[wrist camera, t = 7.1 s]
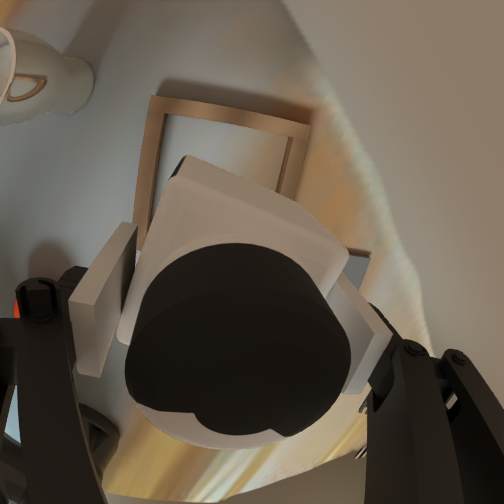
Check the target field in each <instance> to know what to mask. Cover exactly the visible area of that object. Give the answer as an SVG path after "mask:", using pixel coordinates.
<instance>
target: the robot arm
mask: <svg viewBox="0 0 504 504" xmlns="http://www.w3.org/2000/svg"><path fill="white" fill-rule="evenodd" d="M137 233H138V224H135V223H128V222H122V223H121V224H120V225H119V227H118V228H117V229H116V231H115V232H114V233H113V235H112V236H111V237H110V239H109V240H108V242H107V243H106V244H105V246H104V247H103V249H102V250H101V251H100V253H99V254H98V256H97V257H96V259H95V260H94V262H93V263H92V264H91V266H90V267H89V268H86V267H80V266H74V267H72V268H70V269H69V270H67V271H65V273H64V274H63V275H62V277H61V278H60V280H59V281H58V282H57V283H56V282H55V281H54V280H51V279H48V278H39V277H38V278H31V279H28V280H26V281H23V282H22V283H21V284H19V285H18V286H17V288H16V290H15V292H16V298H17V304H18V309H19V314H20V318H0V504H108V502H107V499H106V497H105V494H104V491H103V489H102V479H103V473H104V470H105V469H106V467H107V466H108V464H109V462H110V461H111V459H112V457H113V456H114V454H115V453H116V451H117V448H118V443H119V433H118V431H117V429H116V428H115V426H114V425H113V424H112V423H111V422H110V421H109V420H108V419H106V418H105V417H104V416H102V415H101V414H99V413H98V412H96V411H94V410H92V409H90V408H88V407H86V406H83V405H81V404H78V400H77V395H76V390H75V385H74V380H73V375H72V369H73V367H74V364H75V362H76V365H77V371H78V373H79V374H83V375H88V376H93V377H98V378H100V377H101V374H102V371H103V367H104V364H105V361H106V358H107V355H108V351H109V348H110V345H111V342H112V339H113V336H114V333H115V330H116V327H117V324H118V322H119V319H120V316H121V313H122V310H123V307H124V303H125V300H126V297H127V294H128V290H129V287H130V284H131V281H132V278H133V274H134V271H135V259H136V245H137ZM325 300H326V301H327V303H328V305H329V306H330V308H331V309H332V311H333V313H334V314H335V316H336V317H337V319H338V321H339V322H340V324H341V325H342V327H343V329H344V330H345V332H346V335H347V337H348V340H349V343H350V348H351V365H350V370H349V374H348V377H347V379H346V382H345V384H344V387H343V389H342V393H343V394H358V393H361V392H362V390H363V389H364V387H365V385H366V384H367V382H369V384H370V386H371V388H372V389H371V391H370V392H369V394H368V396H367V397H366V399H365V400H364V402H363V404H362V405H361V407H360V408H359V413H361V412H362V411H363V409H364V408H365V407H367V411H366V412H365V414H367V463H366V484H365V499H364V504H504V409H503V408H502V406H501V404H500V403H499V401H498V400H497V398H496V397H495V395H494V394H493V392H492V391H491V389H490V388H489V386H488V385H487V384H486V382H485V381H484V379H483V377H482V376H481V375H480V373H479V372H478V370H477V369H476V368H475V366H474V365H473V363H472V362H471V360H470V359H469V358H468V357H467V356H466V355H464V354H463V352H461V351H459V350H454V349H447V350H446V351H445V352H444V354H443V356H442V358H441V359H438V358H433V357H430V356H429V353H428V352H427V350H426V349H425V348H424V347H423V346H422V345H420V344H419V343H417V342H415V341H412V340H408V339H402V338H401V336H400V335H399V334H398V333H397V331H396V330H395V329H394V328H393V326H392V325H391V324H389V321H388V320H387V319H386V318H384V315H383V314H382V313H381V312H380V310H379V309H378V308H376V307H375V306H373V305H372V304H371V303H369V302H367V301H366V300H365V298H364V297H363V296H362V295H361V293H360V292H359V291H358V290H357V289H356V287H355V286H354V285H353V284H352V282H351V281H350V280H349V279H348V278H347V276H346V275H345V274H344V273H343V272H341V273H340V275H339V277H338V278H337V280H336V282H335V283H334V285H333V287H332V288H331V290H330V292H329V293H328V295H327V296H326V298H325ZM15 385H17V398H18V417H19V430H20V440H21V443H19V442H18V441H16V440H15V439H13V438H12V437H11V436H9V435H8V434H6V433H5V432H4V431H5V427H6V422H7V417H8V413H9V409H10V404H11V400H12V396H13V393H14V389H15ZM454 393H455V395H456V396H457V398H458V399H457V401H456V402H455V403H454V405H453V406H452V407H451V408H450V409H448V408H447V407H446V404H447V403H448V401H449V400H450V399H451V397H452V396H453V395H454Z"/></svg>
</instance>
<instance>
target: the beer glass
mask: <svg viewBox="0 0 504 504" xmlns="http://www.w3.org/2000/svg"><path fill="white" fill-rule="evenodd" d="M93 86H94V75H93V71H92V69H91V67H90V66H89V64H88V63H87V62H85V61H84V60H82V59H79V58H65V57H64V56H63V55H62V54H61V53H60V52H59V51H58V50H57V49H56V48H54V47H53V46H52V45H51V44H49V43H48V42H47V41H45V40H44V39H42V38H40V37H37V36H35V35H33V34H30V33H27V32H23V31H19V30H14V29H8V28H3V27H0V126H6V125H12V124H17V123H21V122H24V121H27V120H30V119H33V118H35V117H37V116H40V115H42V114H44V113H47V112H52V113H54V114H57V115H69V114H72V113H74V112H76V111H78V110H79V109H80V108H82V107H83V106H84V105H85V103H86V102H87V101H88V99H89V97H90V96H91V93H92V90H93Z"/></svg>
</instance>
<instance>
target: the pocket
mask: <svg viewBox="0 0 504 504" xmlns="http://www.w3.org/2000/svg"><path fill="white" fill-rule="evenodd" d="M167 114H174V115H181V116H188V117H194V118H200V119H207V120H212V121H218V122H224V123H229V124H234V125H239V126H244V127H249V128H254V129H259V130H263V131H268V132H272V133H277V134H281V135H285V136H289V138H288V142H287V147H286V151H285V155H284V159H283V163H282V167H281V172H280V176H279V180H278V184H277V188H276V193H278V194H280V195H282V196H285V197H287V198H289V199H291V200H293V201H294V198H295V194H296V190H297V186H298V182H299V178H300V174H301V170H302V166H303V162H304V158H305V154H306V150H307V146H308V142H309V138H310V134H311V129H312V126H309V125H305V124H301V123H298V122H294V121H290V120H286V119H282V118H278V117H274V116H269V115H265V114H260V113H256V112H251V111H247V110H242V109H237V108H232V107H226V106H221V105H215V104H210V103H204V102H197V101H191V100H184V99H177V98H169V97H161V96H153V95H151V99H150V104H149V109H148V114H147V120H146V125H145V131H144V137H143V143H142V149H141V156H140V163H139V170H138V177H137V185H136V194H135V203H134V212H133V223H135V224H138V233H137V245H136V250H140V251H142V248H143V245H144V242H145V239H146V236H147V233H148V231H149V227H150V218H151V209H152V201H153V193H154V186H155V179H156V172H157V166H158V159H159V153H160V147H161V141H162V136H163V130H164V125H165V120H166V115H167Z"/></svg>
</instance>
